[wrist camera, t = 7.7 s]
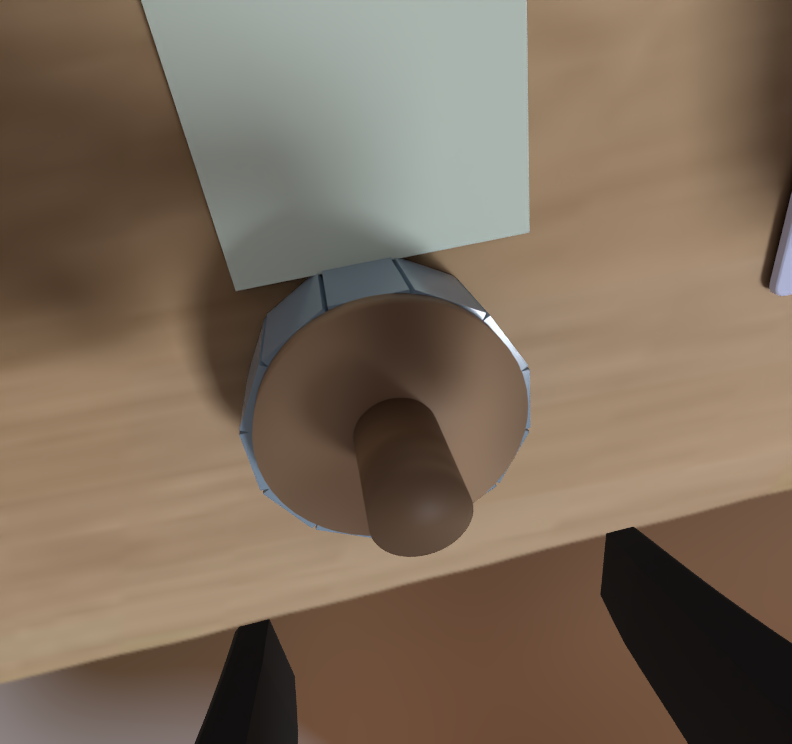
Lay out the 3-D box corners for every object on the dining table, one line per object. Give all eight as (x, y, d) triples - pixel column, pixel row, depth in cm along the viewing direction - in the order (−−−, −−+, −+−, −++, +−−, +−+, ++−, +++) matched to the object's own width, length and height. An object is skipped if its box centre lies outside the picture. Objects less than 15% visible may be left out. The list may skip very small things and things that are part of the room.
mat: (520, -175, 12) (524, -180, 12) (525, 230, 17) (529, 232, 17) (104, -121, 12) (100, -126, 11) (236, 288, 17) (235, 291, 16)
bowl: (486, 234, 17) (528, 264, 14) (498, 445, 22) (531, 501, 19) (217, 288, 16) (200, 332, 13) (288, 494, 21) (287, 561, 18)
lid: (513, 265, 14) (592, 325, 10) (521, 485, 18) (580, 584, 15) (214, 329, 13) (184, 418, 10) (294, 543, 18) (294, 662, 14)
